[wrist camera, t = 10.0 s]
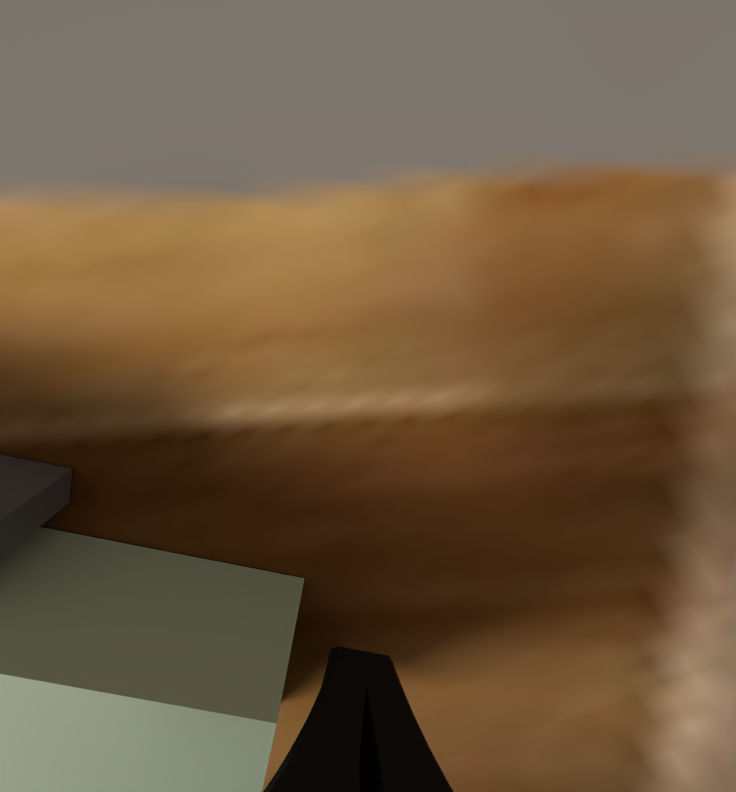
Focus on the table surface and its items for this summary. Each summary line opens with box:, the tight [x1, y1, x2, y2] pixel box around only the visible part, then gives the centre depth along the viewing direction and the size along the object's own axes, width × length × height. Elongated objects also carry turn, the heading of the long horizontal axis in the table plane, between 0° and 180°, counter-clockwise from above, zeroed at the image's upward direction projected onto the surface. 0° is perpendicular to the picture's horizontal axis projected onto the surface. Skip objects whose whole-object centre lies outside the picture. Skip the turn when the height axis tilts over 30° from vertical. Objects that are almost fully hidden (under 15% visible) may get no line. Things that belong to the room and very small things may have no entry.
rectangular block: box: [0, 527, 305, 792], centre depth 11 cm, size 8×4×4 cm, turn 77°
